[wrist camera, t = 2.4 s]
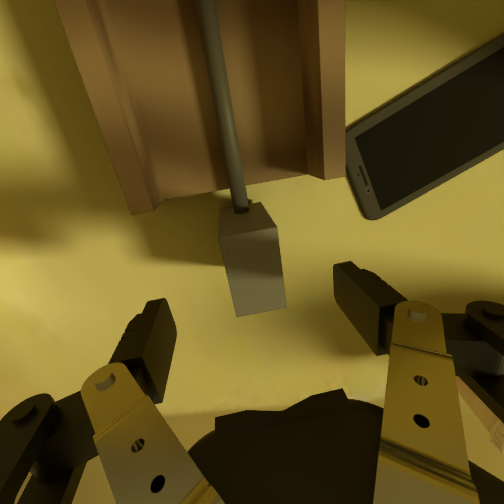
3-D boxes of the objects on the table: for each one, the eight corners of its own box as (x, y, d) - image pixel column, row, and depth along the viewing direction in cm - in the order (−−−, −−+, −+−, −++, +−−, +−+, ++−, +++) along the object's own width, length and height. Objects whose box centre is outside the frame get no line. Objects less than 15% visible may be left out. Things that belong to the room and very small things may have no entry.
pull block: (78, -271, 10) (-199, -1070, 3) (227, -287, 10) (236, -1070, 4) (214, 273, 20) (209, 336, 13) (287, 259, 20) (318, 315, 14)
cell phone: (531, 128, 19) (542, 128, 18) (364, 222, 21) (369, 225, 20) (523, 19, 16) (536, 14, 16) (330, 138, 18) (334, 137, 17)
